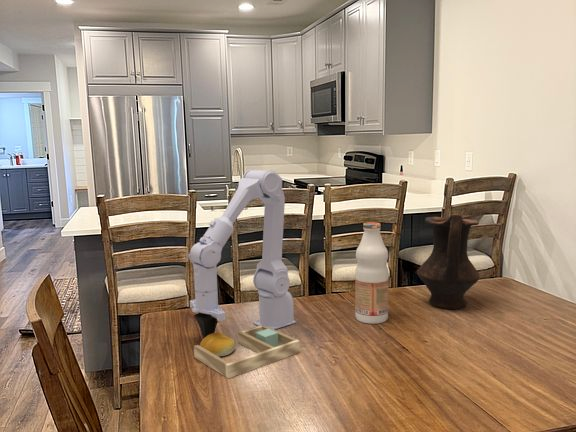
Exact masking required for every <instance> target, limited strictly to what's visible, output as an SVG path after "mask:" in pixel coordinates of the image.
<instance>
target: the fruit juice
mask: <svg viewBox="0 0 576 432" xmlns="http://www.w3.org/2000/svg"><path fill="white" fill-rule="evenodd" d="M362 227H363V234H362V237H361V239H360V242H359V244H358V246H357V248H356V251H355V260H356V262H357V263H356V268H355V275H354V277H355V278H354V279H355V281H354V282H355V283H354V285H355V289H354V291H355V292H354V294H355V296H354V297H355V300H354V301H355V302H354V303H355V304H354V305H355V306H354V308H355V310H354V311H355V313H354V314H355V319H356V320H357V321H359V322H361V323H363V324H368V325H369V324H372V325H373V324H374V325H375V324H383V323H385V322H387V320H388V319H389V269H388V266H387V262H388V260H389V259H388V258H389V251H388V249H387V247H386V246H385V243H384V240H383V237H382V235H381V232H380V231H381V228H382V227H381V223H380V222H373V221H371V222H363V225H362Z"/></svg>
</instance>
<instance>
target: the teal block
mask: <svg viewBox="0 0 576 432" xmlns="http://www.w3.org/2000/svg"><path fill="white" fill-rule="evenodd" d="M256 339H259V340H261V341H263V342H265V343H267V344H269V345H271V346H273V347H277V346H279V345H278V333H277V332H275V331H273V330H270V329H266V330H262V331H259V332H256Z"/></svg>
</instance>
